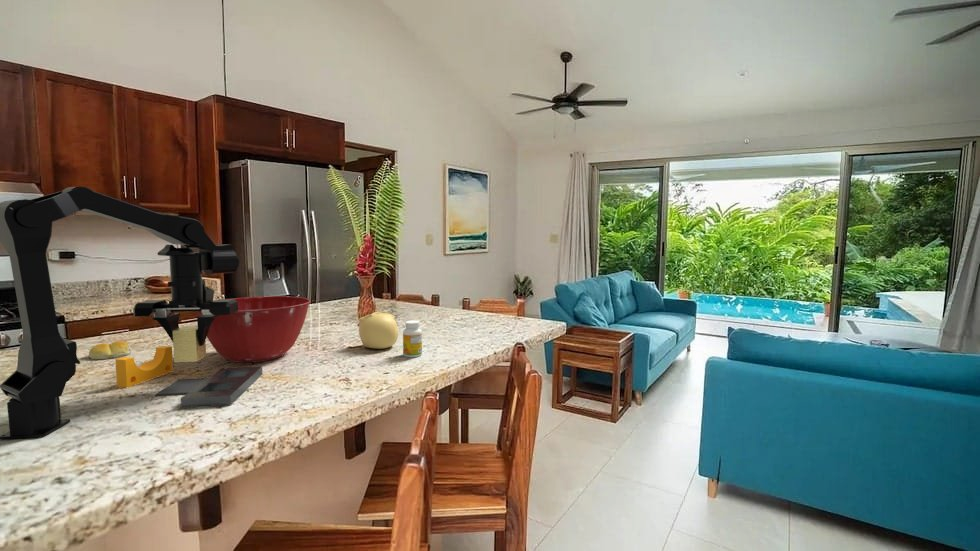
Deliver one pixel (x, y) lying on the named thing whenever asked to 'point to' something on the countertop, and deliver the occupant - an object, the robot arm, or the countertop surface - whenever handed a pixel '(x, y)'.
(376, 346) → the pale yellow melon
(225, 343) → the mixing bowl
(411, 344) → the supplement bottle
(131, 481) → the countertop surface
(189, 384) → the mat
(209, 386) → the gray slotted plate
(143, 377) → the pipe clamp
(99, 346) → the bread roll
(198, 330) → the robot arm
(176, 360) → the pale yellow block
